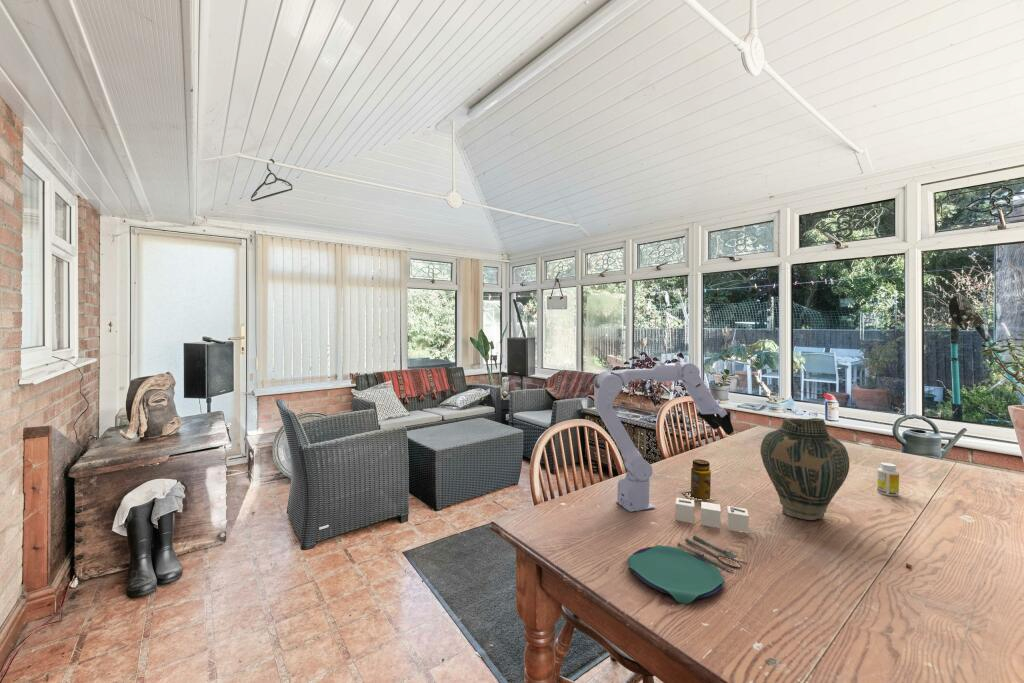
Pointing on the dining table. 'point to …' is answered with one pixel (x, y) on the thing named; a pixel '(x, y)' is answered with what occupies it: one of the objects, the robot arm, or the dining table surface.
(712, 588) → the cutlery set
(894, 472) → the supplement bottle
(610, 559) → the dining table surface
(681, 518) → the digit one block
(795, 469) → the vase
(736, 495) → the dining table surface
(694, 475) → the condiment
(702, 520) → the plain block
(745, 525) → the digit seven block
